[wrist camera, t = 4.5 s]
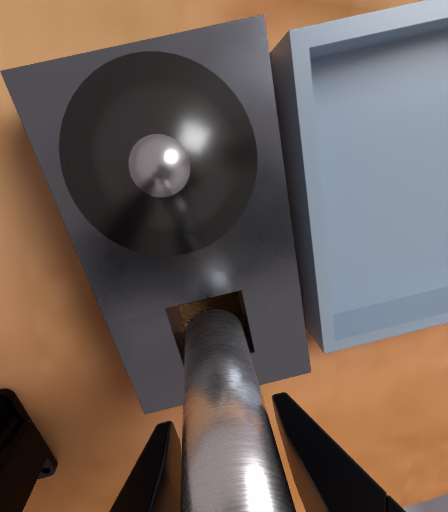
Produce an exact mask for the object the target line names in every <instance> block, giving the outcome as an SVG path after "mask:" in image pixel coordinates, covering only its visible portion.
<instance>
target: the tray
mask: <svg viewBox="0 0 448 512" xmlns="http://www.w3.org/2000/svg"><path fill="white" fill-rule="evenodd" d="M270 60H271V68H272V75H273V83H274V91H275V98H276V106H277V113H278V121H279V129H280V136H281V144H282V152H283V159H284V167H285V174H286V182H287V190H288V197H289V205H290V213H291V220H292V228H293V235H294V243H295V251H296V258H297V266H298V274H299V281H300V289H301V296H302V304H303V312H304V319H305V325H306V327H307V328H308V330H309V331H310V333H311V334H312V336H313V338H314V339H315V341H316V342H317V344H318V345H319V347H320V348H321V350H322V351H323V353H324V354H326V353H330V352H334V351H338V350H342V349H346V348H350V347H354V346H358V345H362V344H366V343H370V342H374V341H378V340H382V339H385V338H389V337H393V336H397V335H401V334H405V333H409V332H413V331H417V330H421V329H425V328H429V327H433V326H437V325H441V324H445V323H448V0H426V1H421V2H416V3H412V4H407V5H403V6H398V7H393V8H389V9H384V10H379V11H375V12H370V13H366V14H361V15H356V16H352V17H347V18H343V19H338V20H333V21H329V22H324V23H320V24H315V25H310V26H306V27H301V28H297V29H292V30H289V31H288V32H287V33H286V35H285V36H284V37H283V38H282V39H281V41H280V42H279V43H278V44H277V45H276V47H275V48H274V49H273V50H272V51H271V53H270Z"/></svg>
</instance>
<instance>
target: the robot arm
mask: <svg viewBox="0 0 448 512" xmlns="http://www.w3.org/2000/svg"><path fill="white" fill-rule="evenodd" d="M272 401H273V406H274V411H275V416H276V420H277V424H278V428H279V431H280V434H281V438H282V441H283V445H284V448H285V452H286V455H287V459H288V462H289V465H290V469H291V472H292V475H293V479H294V482H295V484H296V487H297V490H298V492H299V495H300V497H301V500H302V502H303V505H304V507H305V510H306V512H406V511H405V510H404V509H403V508H402V507H401V506H400V505H399V504H398V503H397V502H396V501H395V500H394V499H393V498H392V497H391V496H389V495H388V496H387V493H386V492H385V491H384V490H383V489H382V488H381V487H380V486H379V485H378V484H377V483H376V482H375V481H374V480H373V479H372V478H371V477H370V476H369V475H368V474H367V473H366V472H365V471H364V470H363V469H362V468H361V467H360V466H359V465H358V464H357V463H356V462H355V461H354V460H353V459H352V458H351V457H350V456H349V455H348V454H347V453H346V452H345V451H344V450H343V449H342V448H341V447H340V446H339V445H338V444H337V443H336V442H335V441H334V440H333V439H332V438H331V437H330V436H329V435H328V434H327V433H326V432H325V431H324V430H323V429H322V428H321V427H320V426H319V425H318V424H317V423H316V422H315V421H314V420H313V419H312V418H311V417H310V416H309V415H308V414H307V413H306V412H305V411H304V410H303V409H302V408H301V407H300V406H299V405H298V404H297V403H296V402H295V401H294V400H293V399H292V398H291V397H290V396H289V395H288V394H287V393H285V392H282V393H278V394H275V395H273V396H272ZM57 465H58V463H57V461H56V459H55V457H54V456H53V454H52V452H51V451H50V449H49V448H48V446H47V444H46V443H45V441H44V440H43V438H42V436H41V435H40V433H39V431H38V430H37V428H36V427H35V425H34V423H33V422H32V420H31V418H30V417H29V415H28V414H27V412H26V410H25V409H24V407H23V406H22V404H21V402H20V401H19V399H18V397H17V396H16V394H15V393H14V392H13V391H11V390H9V389H0V512H22V511H23V509H24V507H25V505H26V503H27V500H28V498H29V496H30V494H31V492H32V490H33V487H34V485H35V483H36V481H37V479H40V478H44V477H48V476H51V475H53V474H54V473H55V470H56V468H57ZM181 468H182V459H181V445H180V440H179V438H178V435H177V432H176V430H175V427H174V424H173V423H172V422H171V421H167V422H163V423H160V424H158V425H157V426H156V427H155V429H154V431H153V433H152V435H151V437H150V438H149V440H148V442H147V444H146V446H145V448H144V449H143V451H142V453H141V455H140V457H139V458H138V460H137V462H136V464H135V466H134V468H133V469H132V471H131V473H130V475H129V477H128V479H127V480H126V482H125V484H124V486H123V488H122V490H121V491H120V493H119V495H118V497H117V499H116V500H115V502H114V504H113V506H112V508H111V510H110V511H109V512H180V504H181Z"/></svg>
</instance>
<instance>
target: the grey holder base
mask: <svg viewBox="0 0 448 512" xmlns="http://www.w3.org/2000/svg"><path fill="white" fill-rule="evenodd" d="M0 72H1V74H2V77H3V79H4V81H5V84H6V86H7V88H8V91H9V93H10V96H11V98H12V100H13V103H14V105H15V107H16V110H17V112H18V115H19V117H20V119H21V122H22V124H23V126H24V129H25V131H26V134H27V136H28V138H29V141H30V143H31V145H32V148H33V150H34V153H35V155H36V157H37V160H38V162H39V164H40V167H41V169H42V172H43V174H44V176H45V179H46V181H47V183H48V186H49V188H50V191H51V193H52V195H53V198H54V200H55V202H56V205H57V207H58V210H59V212H60V214H61V217H62V219H63V221H64V224H65V226H66V229H67V231H68V233H69V236H70V238H71V240H72V243H73V245H74V248H75V250H76V252H77V255H78V257H79V259H80V262H81V264H82V267H83V269H84V271H85V274H86V276H87V278H88V281H89V283H90V286H91V288H92V290H93V293H94V295H95V297H96V300H97V302H98V305H99V307H100V309H101V312H102V314H103V316H104V319H105V321H106V324H107V326H108V328H109V331H110V333H111V335H112V338H113V340H114V343H115V345H116V347H117V350H118V352H119V354H120V357H121V359H122V362H123V364H124V366H125V369H126V371H127V373H128V376H129V378H130V381H131V383H132V385H133V388H134V390H135V392H136V395H137V397H138V400H139V402H140V404H141V407H142V409H143V411H144V414H148V413H152V412H156V411H160V410H164V409H168V408H172V407H176V406H180V405H183V396H184V360H185V332H186V330H185V327H184V324H183V320H182V317H181V314H180V311H179V307H178V305H182V304H186V303H190V302H194V301H198V300H202V299H206V298H211V297H215V296H219V295H223V294H227V293H231V292H235V291H238V294H239V299H240V303H241V308H242V312H243V317H240V318H238V319H239V321H240V322H241V325H242V328H243V331H244V335H245V338H246V342H247V345H248V349H249V352H250V355H251V359H252V362H253V366H254V369H255V373H256V376H257V379H258V383H259V385H262V384H266V383H270V382H274V381H278V380H282V379H286V378H290V377H294V376H298V375H302V374H306V373H310V372H311V367H310V359H309V352H308V344H307V337H306V329H305V321H304V314H303V306H302V299H301V291H300V283H299V276H298V268H297V261H296V253H295V245H294V238H293V230H292V223H291V215H290V207H289V200H288V192H287V185H286V177H285V169H284V162H283V154H282V147H281V139H280V131H279V124H278V116H277V109H276V101H275V93H274V86H273V78H272V71H271V63H270V55H269V48H268V40H267V33H266V25H265V17H264V14H263V15H259V16H254V17H249V18H245V19H240V20H235V21H231V22H226V23H221V24H217V25H212V26H207V27H203V28H198V29H194V30H189V31H184V32H180V33H175V34H170V35H166V36H161V37H156V38H152V39H147V40H142V41H138V42H133V43H128V44H124V45H119V46H114V47H110V48H105V49H100V50H96V51H91V52H86V53H82V54H77V55H73V56H68V57H63V58H59V59H54V60H49V61H45V62H40V63H35V64H31V65H26V66H21V67H17V68H12V69H7V70H3V71H0Z"/></svg>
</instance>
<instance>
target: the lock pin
mask: <svg viewBox="0 0 448 512" xmlns="http://www.w3.org/2000/svg"><path fill="white" fill-rule="evenodd" d="M180 512H296V510H295V507H294V503H293V500H292V496H291V493H290V489H289V486H288V482H287V479H286V476H285V472H284V469H283V465H282V462H281V458H280V455H279V452H278V448H277V445H276V441H275V438H274V434H273V431H272V428H271V424H270V421H269V417H268V414H267V410H266V407H265V403H264V400H263V397H262V393H261V390H260V386H259V383H258V379H257V376H256V373H255V369H254V366H253V362H252V359H251V355H250V352H249V349H248V345H247V342H246V338H245V335H244V331H243V328H242V325H241V322H240V321H239V319H238V318H237V317H236V316H235V315H234V314H232V313H230V312H228V311H226V310H222V309H210V310H206V311H203V312H201V313H199V314H197V315H196V316H195V317H193V318H192V319H191V321H190V322H189V324H188V325H187V328H186V332H185V360H184V396H183V432H182V468H181V504H180Z"/></svg>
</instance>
